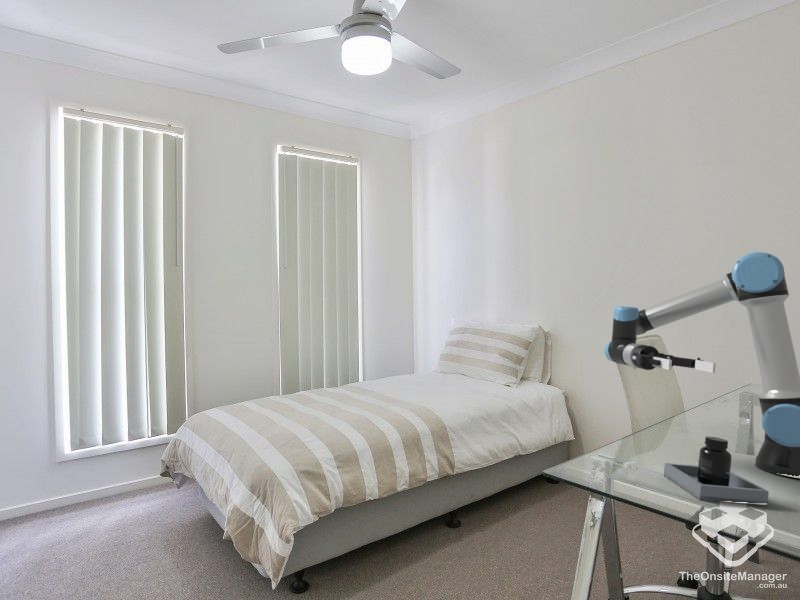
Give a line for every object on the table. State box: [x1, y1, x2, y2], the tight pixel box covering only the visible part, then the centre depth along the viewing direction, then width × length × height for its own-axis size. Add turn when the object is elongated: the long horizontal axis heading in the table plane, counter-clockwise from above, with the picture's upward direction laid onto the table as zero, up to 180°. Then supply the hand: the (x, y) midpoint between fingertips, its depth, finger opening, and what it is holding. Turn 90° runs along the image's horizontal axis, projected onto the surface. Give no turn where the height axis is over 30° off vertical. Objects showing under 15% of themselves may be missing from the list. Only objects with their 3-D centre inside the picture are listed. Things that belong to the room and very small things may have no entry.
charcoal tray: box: [663, 462, 769, 503], centre depth 123 cm, size 16×16×4 cm
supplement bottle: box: [697, 436, 732, 486], centre depth 123 cm, size 7×7×12 cm
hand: (692, 366), depth 132 cm, fingers open, 13 cm apart
